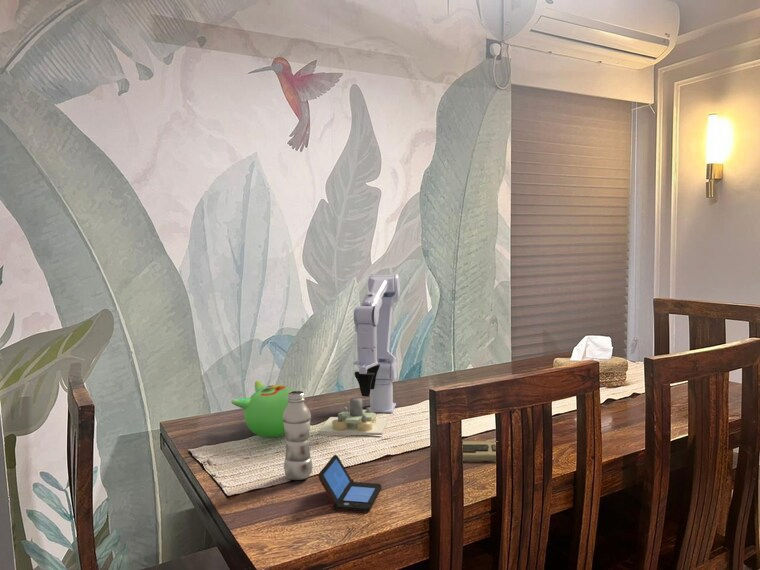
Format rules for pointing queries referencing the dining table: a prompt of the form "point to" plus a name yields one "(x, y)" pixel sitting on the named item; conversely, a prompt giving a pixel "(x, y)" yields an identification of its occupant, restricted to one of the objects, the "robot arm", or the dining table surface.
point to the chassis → (354, 426)
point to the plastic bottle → (297, 437)
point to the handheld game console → (347, 488)
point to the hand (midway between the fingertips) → (368, 392)
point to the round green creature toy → (265, 409)
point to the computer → (479, 451)
